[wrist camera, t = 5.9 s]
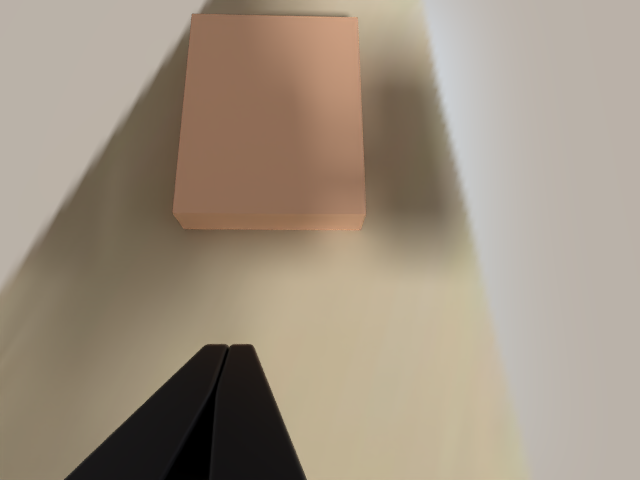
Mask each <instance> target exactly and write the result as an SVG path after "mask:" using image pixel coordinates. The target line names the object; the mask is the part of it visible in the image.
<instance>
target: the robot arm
mask: <svg viewBox="0 0 640 480" xmlns="http://www.w3.org/2000/svg"><path fill="white" fill-rule="evenodd" d="M64 480H307V479H306V476H305V474H304V471H303V469H302V466H301V464H300V461H299V459H298V456H297V454H296V451H295V449H294V446H293V444H292V441H291V439H290V436H289V434H288V431H287V429H286V426H285V424H284V421H283V419H282V416H281V413H280V411H279V408H278V406H277V403H276V401H275V398H274V396H273V393H272V391H271V388H270V386H269V383H268V381H267V378H266V376H265V373H264V371H263V368H262V366H261V363H260V361H259V358H258V356H257V353H256V351H255V348H254V347H253V345H251V344H233V345H231V346H230V347H229V346H228V345H226V344H207V345H205V346H204V347H202V348H201V349H200V350H199V351H198V352H197V353H196V354H195V355H194V356H193V357H192V358H191V359H190V360H189V361H188V362H187V363H186V364H185V365H184V366H183V367H181V368H180V369H179V370H178V371H177V372H176V373H175V374H174V375H173V376H172V377H171V378H170V379H169V380H168V381H167V382H166V383H165V384H164V385H163V386H162V387H161V388H159V389H158V390H157V391H156V392H155V393H154V394H153V395H152V396H151V397H150V398H149V399H148V400H147V401H146V402H145V403H144V404H143V405H142V406H141V407H140V408H138V409H137V410H136V411H135V412H134V413H133V414H132V415H131V416H130V417H129V418H128V419H127V420H126V421H125V422H124V423H123V424H122V425H121V426H120V427H119V428H117V429H116V430H115V431H114V432H113V433H112V434H111V435H110V436H109V437H108V438H107V439H106V440H105V441H104V442H103V443H102V444H101V445H100V446H99V447H98V448H97V449H95V450H94V451H93V452H92V453H91V454H90V455H89V456H88V457H87V458H86V459H85V460H84V461H83V462H82V463H81V464H80V465H79V466H78V467H77V468H76V469H74V470H73V471H72V472H71V473H70V474H69V475H68V476H67V477H66V478H65V479H64Z"/></svg>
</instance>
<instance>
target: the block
mask: <svg viewBox="0 0 640 480" xmlns="http://www.w3.org/2000/svg"><path fill="white" fill-rule="evenodd" d="M172 213H173V215H174V216H175V218H176V219H177V220H178V222H179V223H180V224H181V226H182V227H183V229H257V230H361V227H362V225H363V222H364V219H365V216H366V196H365V173H364V150H363V127H362V104H361V80H360V57H359V34H358V17H317V16H274V15H231V14H192V18H191V28H190V38H189V48H188V59H187V69H186V79H185V89H184V99H183V109H182V120H181V130H180V140H179V150H178V160H177V171H176V181H175V191H174V201H173V211H172Z"/></svg>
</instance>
